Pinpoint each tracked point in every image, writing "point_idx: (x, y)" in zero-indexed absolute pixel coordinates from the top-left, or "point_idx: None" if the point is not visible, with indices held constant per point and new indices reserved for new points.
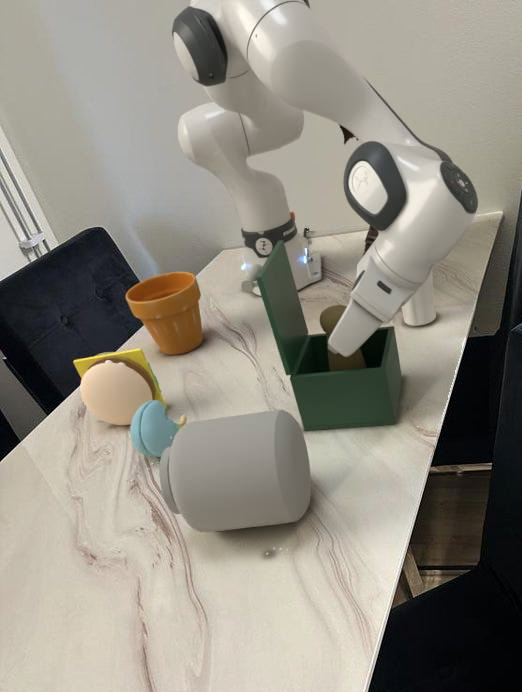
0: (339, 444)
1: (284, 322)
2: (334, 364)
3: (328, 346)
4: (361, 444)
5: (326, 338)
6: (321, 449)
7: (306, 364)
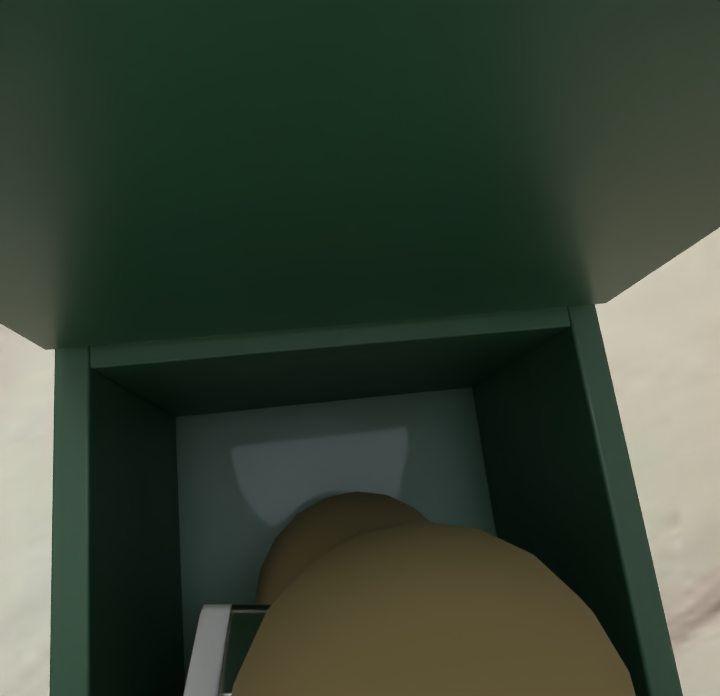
0: (48, 583)
1: (116, 172)
2: (274, 574)
3: (201, 616)
4: (35, 689)
5: (581, 426)
6: (22, 512)
7: (349, 361)
